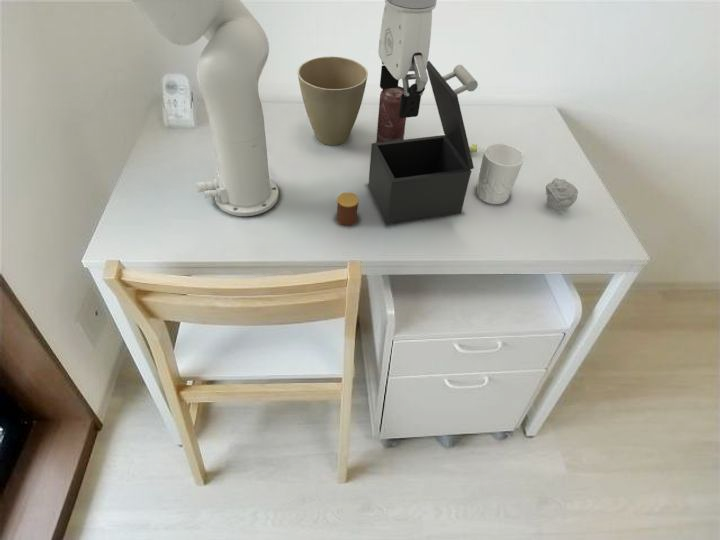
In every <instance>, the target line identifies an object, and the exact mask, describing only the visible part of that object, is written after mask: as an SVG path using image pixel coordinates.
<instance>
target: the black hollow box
mask: <svg viewBox="0 0 720 540" xmlns="http://www.w3.org/2000/svg"><path fill="white" fill-rule="evenodd" d="M370 147H371V148H370V157H369V158H370V160H369V173H368V184H367V185H368V188H369V190H370V192H371V194H372V196H373V199H374V201H375V203H376V205H377V207H378V209H379V211H380V213H381V215H382V217H383V220H384V222H385V224H386V225H387V226H389V225H396V224H403V223H409V222H416V221H420V220H421V221H423V220H428V219H435V218H440V217H447V216H448V217H449V216H454V215H455V216H456V215H461V214H462V211H463V207H464V203H465V198H466V194H467V190H468V186H469V183H470V178H471V175H472V169H471V170H470V169H469V168H468V166H467V165H466V164H465V162H464V161H463V159H462V158H461V156H460V155H459V154H458V152H457V151H456V149H455V148H454V147H453V145H452V144H451V142H450V141H449V140H448V138H447V137H446V135H445V134H442V135H432V136H425V137H424V136H423V137H416V138H415V137H414V138H406V139H403V140H397V141H388V142H379V143H376V142H372V143H371V146H370Z"/></svg>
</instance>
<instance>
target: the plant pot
mask: <svg viewBox="0 0 720 540" xmlns="http://www.w3.org/2000/svg"><path fill="white" fill-rule="evenodd" d="M368 75H369V72H368V70H367V68H366V67H365V66H364V65H363V64H362V63H360V62H358V61H356V60H354V59H351V58H348V57H347V58H346V57H343V56H331V55H330V56H329V55H328V56H320V57H319V56H318V57H315V58H311V59H309V60H306V61H305V62H303V63H301V64H300V66H299V67H298V68H297V77H298V84H299V87H300V93H301V97H302V101H303V105H304V109H305V111H306V114H307V118H308V120H309V123H310V126H311V129H312V130H313V133H314V135H315V137H316V139H317V141H318V142H319V143H321V144H323V145H327V146H339V145H342V144H344V143H345V142H347V141H348V139H349V137H350V135H351V133H352V131H353V128H354V126H355V123H356V121H357V118H358V115H359V113H360V109H361V106H362V103H363V99H364V96H365V95H364V94H365V91H366V85H367V80H368Z"/></svg>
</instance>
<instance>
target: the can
mask: <svg viewBox="0 0 720 540" xmlns="http://www.w3.org/2000/svg"><path fill="white" fill-rule="evenodd" d="M401 94H404V89H403V86H400V85H398V87H397V88H389V89H381V91H380V93H379V105H378V117H377V127H376V128H377V129H376V141H375V143H379V142H388V141H397V140H405V139H404V138H405V131H406V123H407V122H406V121H407V118H400V117H399V109H400V101H401Z"/></svg>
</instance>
